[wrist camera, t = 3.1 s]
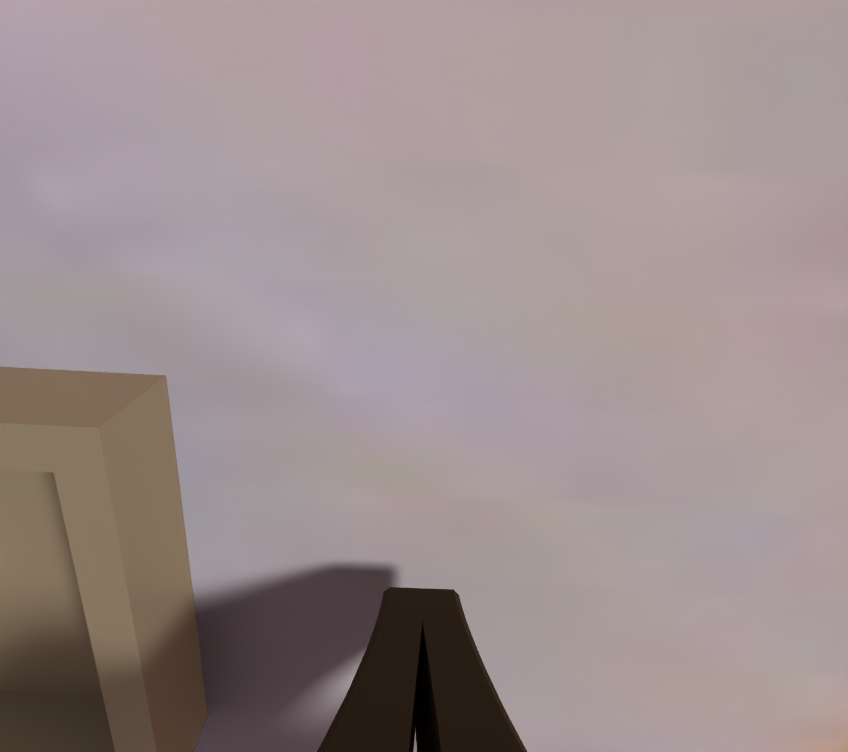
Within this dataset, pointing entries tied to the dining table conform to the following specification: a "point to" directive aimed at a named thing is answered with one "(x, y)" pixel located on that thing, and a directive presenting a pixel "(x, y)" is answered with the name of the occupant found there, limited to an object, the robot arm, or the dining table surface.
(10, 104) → the dining table surface
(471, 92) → the dining table surface
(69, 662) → the tray
